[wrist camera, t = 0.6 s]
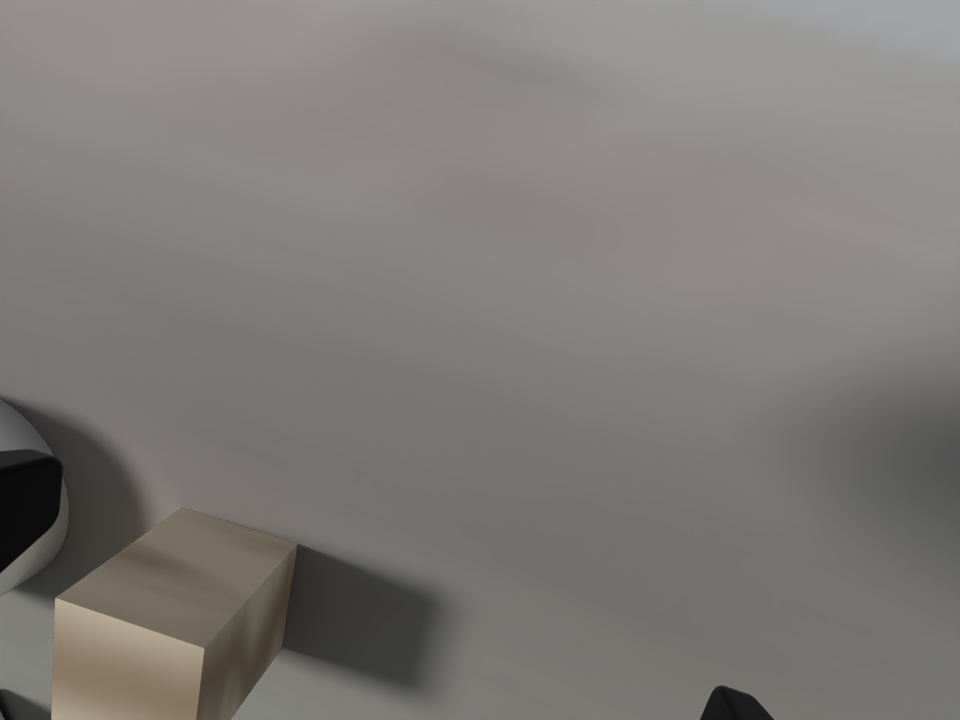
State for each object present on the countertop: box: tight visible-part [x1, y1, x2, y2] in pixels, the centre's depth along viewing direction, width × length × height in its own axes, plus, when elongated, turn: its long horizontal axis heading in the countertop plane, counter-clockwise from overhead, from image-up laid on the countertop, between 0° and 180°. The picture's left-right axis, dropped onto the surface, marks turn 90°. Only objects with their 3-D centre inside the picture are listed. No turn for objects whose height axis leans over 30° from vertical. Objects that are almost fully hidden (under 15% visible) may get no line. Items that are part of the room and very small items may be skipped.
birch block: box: [51, 508, 298, 720], centre depth 22 cm, size 5×5×6 cm
